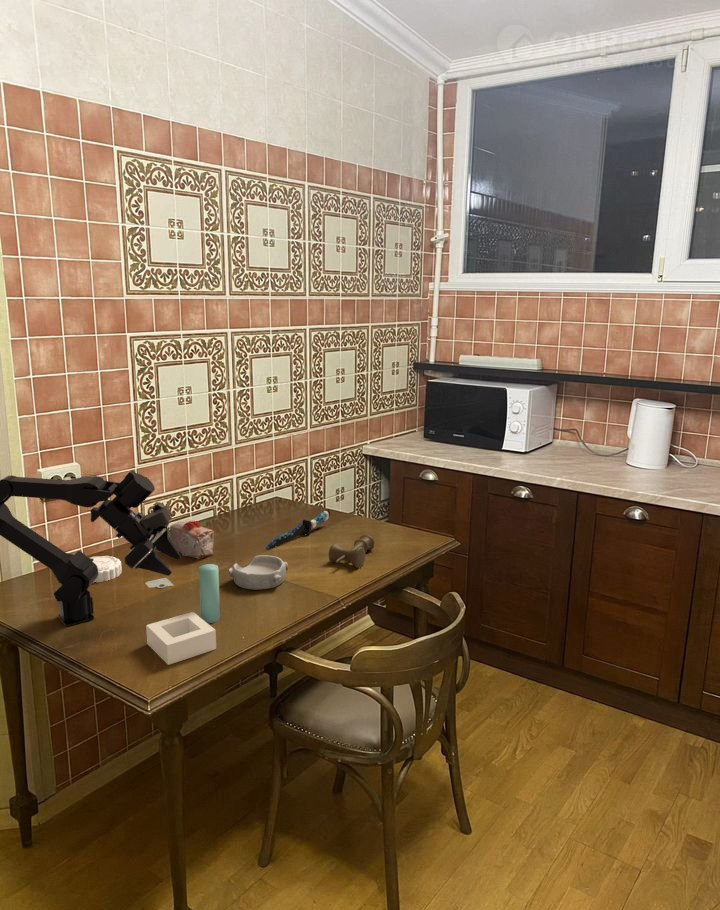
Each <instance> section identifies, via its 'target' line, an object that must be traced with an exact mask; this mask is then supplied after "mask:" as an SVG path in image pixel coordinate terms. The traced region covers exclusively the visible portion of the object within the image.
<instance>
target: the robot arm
mask: <svg viewBox="0 0 720 910" xmlns="http://www.w3.org/2000/svg"><path fill="white" fill-rule="evenodd" d="M155 489H156V488H155V485H154V484H153V482H152V481H151V480H150V479H149V478H148V477H147V476H144V475H143V474H140V473H138V472H136V471H135V470H134V469H133V470H130V471H129V472H128V473H127V474H126V475H125V477H124V478H123V479H122V480H121V481H119V482H117V481H111V480H104V478H103V477H101V476H99V475H98V476H97V475H91V476H90V475H89V476H81V477H76V478H73V479H53V478H38V477H28V476H27V477H24V476H22V477H21V476H15V475H12V474H11V475H7V476H5V477H4V478H1V479H0V537H2V538H3V539H5V540H7V541H8V542H9V543H11V544H12V545H14V546H15V547H17V548H18V549H20V550H21V551H22V552H24V553H26V554H27V555H29V556H30V557H32V558H33V559H35V560H36V561H38V562H39V563H40V564H42V565H44V566H45V567H47V568H49V570H51V571H52V573H53V574H54V577H55V578H56V580H57V581H58V583H59V584H60V586H59V587H58V588H57V589H56V590H55V591H54V593H53V596H54V598H55V600H56V602H58V604H59V606H58V607H59V614H57V617H58V618H59V620H60V621H61V622H62V624H63V625H64V626H65V627H71V626H74V625H77V624H81V623H85V622H89V621H92V620H94V619H95V616H94V615H93V614H94V613H95V612H94V611H95V610H94V600H93V599H94V598H93V596H92V595H91V592H90V591H89V590H88V589H89V588H91V586H92V584H94V583H93V582H94V581H95V580H96V578H97V576H98V567H97V565H96V564H95V563H94V562H92V561H93V560H94V559H91V557H89V556H88V555H86V554H85V553H84V552H83V551H80V550H77V551H76V552H75V553H74V554H72V553H68V552H66V551H64V550H62V549H61V548H59V547H58V546H56V545H55V544H54V543H52V542H51V541H49V540H47V539H46V538H45V537H44V536H42V535H40V534H39V533H37V532H36V531H34V530H33V529H31V528H30V527H28V526H27V525H26V524H24V523H23V522H21V521H19V520H18V519H17V518H16V517H14V516H13V514H12V511H11V510H10V509H9V506H8V505H7V504H5V503H6V502H7V501H8V500H9V499H10V498H11V497H18V498H32V499H34V498H35V499H49V500H61V501H65V502H67V503H70V504H71V505H74V506H78V507H83V508H91V509H90V511H89V513H90V522H91V523H94V522H95V521H96V520H98V518H99V517H100V519H102V520H103V521H104V522H105V523H106V524H108V525H109V526H110V527H111V528H112V529H113V530H114V531H115V532H116V535H115V536H116V537H117V538H118V539H120V538H123V539H125V540H126V541H127V543H129V544H130V545H131V546H130V547H129V548H130V550H129V551H128V553H127V554H126V555H125V557H124V564H125V565H127V567H129V568H130V569H133V568H134V569H136V570H137V569H141V570H145V571H151V572H154V573H158V574H161V575H165V576H171V575H172V573H173V571H171V569H170V568H169V566H168V565H167V564H166V563H165V562H164V561H163V560H162V559H161V557H159V555H158V553H157V551H158V552H159V553H161V554H163V555H165V556H167V557H169V558H171V559H173V560H176V561H179V560H180V559H181V555H180V554H181V553H180V552H178V551H177V550H176V548H175V546H174V545H173V543H172V541H171V539H170V526H169V525H170V521H171V520H172V519H173V517H172V516H171V514H170V511H171V509H170V508H169V507H167V505H164V504H163V503H161V502H158V503H156V504H155V505H153V507H152V511H150V512H149V513H148V514H146V515H144V514H143V513H142V512H137V513H136V512H135V511H133V510H132V509H131V508H135V509H137V508H138V507H140V506H141V504H142V503H143V502H145V501H146V499H147V498H149V496H151V494H153V492H155ZM112 496H115V497H114V498H113V499H110V498H111V497H112ZM100 502H101V504H100V505H99V506H98V507H95V506H97V505H98V503H100Z"/></svg>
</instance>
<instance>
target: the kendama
mask: <svg viewBox="0 0 720 910" xmlns="http://www.w3.org/2000/svg"><path fill="white" fill-rule="evenodd" d="M374 547H375V539H374V538H373V536H371V535H369V534H362V535H361V536H360V537H359V538H358V539H355V541H354V542H353V547H351V549H348V548H347V549H346V548H343V547H342V546H341V545H339V544H338V543H336V542H335V543H333V544H331V545H330V548H329V550H328V560H329V562H331V563H332V562H334V563H339V562H342V561H345V562H348V563H351V564H352V565H353V566H354V567H355V568H356V569H360V568H362V567H363V565H364V563H365V560H366V553H367V552H368V551H367V550H370V551H372V550H374ZM359 567H360V568H359Z"/></svg>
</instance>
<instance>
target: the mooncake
mask: <svg viewBox="0 0 720 910" xmlns="http://www.w3.org/2000/svg"><path fill="white" fill-rule="evenodd" d="M90 558H91V559H94V560H93V561H92V562H94V563H95V564H96V565H97V567H98V576H97V578H96V580H95V581H94V582H96V583H103V582H109V581H110V580H115V578H118V577H119V576H120V575H121V574H122V571H123V570H122V569H123V568H122V561H121V560H120V559H119V558H117V557H114V556H111V555H110V556H109V555H102V556H92V557H90ZM108 580H109V581H108ZM94 582H93V583H92V584H95V583H94Z"/></svg>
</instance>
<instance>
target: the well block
mask: <svg viewBox="0 0 720 910" xmlns="http://www.w3.org/2000/svg"><path fill="white" fill-rule="evenodd" d="M216 632H217V631H216V629H215V628H214V627H212V626H211V625H210V623H206V622H205V621H204V620H203V619H201V616H199V615H198V614H197V613H195V612H194V611H190V612H186V613H184V614H180V615H176V616H173V617H170V618H167V619H163V620H159V621H155V622H152V623H148V624H147V625H146V644H147V645H148V646H149V648H151V649H152V650H153V652H155V653H156V654H157V655H158V656H159V658H160V659H162V661H164V662H165V664H166V665H168V666H169V665H172V664H176V663H178V662H181V661H184V660H187V659H191V658H193V657H196V656H200V655H203V654H205V653H209V652H213V651H214V650H216V649H217V633H216Z"/></svg>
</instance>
